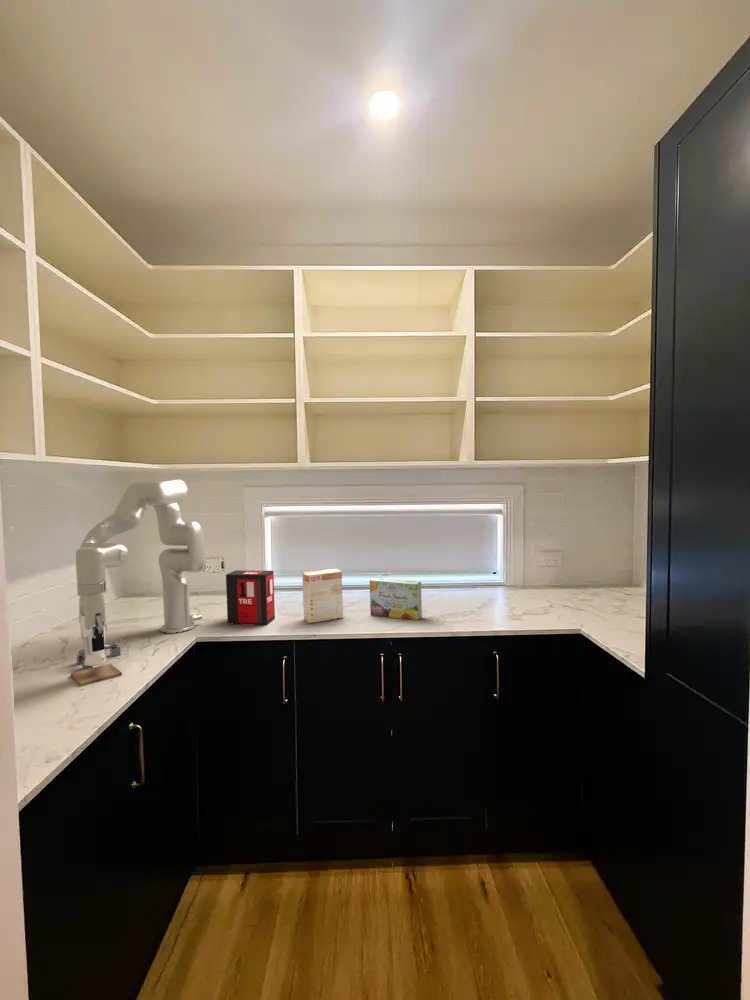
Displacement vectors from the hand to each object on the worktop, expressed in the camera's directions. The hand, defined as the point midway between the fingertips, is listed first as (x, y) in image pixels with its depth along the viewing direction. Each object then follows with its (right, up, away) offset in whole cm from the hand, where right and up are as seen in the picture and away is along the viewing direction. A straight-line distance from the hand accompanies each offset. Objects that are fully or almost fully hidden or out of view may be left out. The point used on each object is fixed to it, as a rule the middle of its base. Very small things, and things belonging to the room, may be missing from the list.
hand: (94, 647), depth 153 cm
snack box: (+93, -4, +57) cm, 109 cm away
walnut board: (0, -9, 0) cm, 9 cm away
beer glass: (0, -5, 0) cm, 5 cm away
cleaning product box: (+34, -5, +55) cm, 65 cm away
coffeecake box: (+63, -5, +56) cm, 85 cm away
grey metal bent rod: (-4, -8, +12) cm, 16 cm away
